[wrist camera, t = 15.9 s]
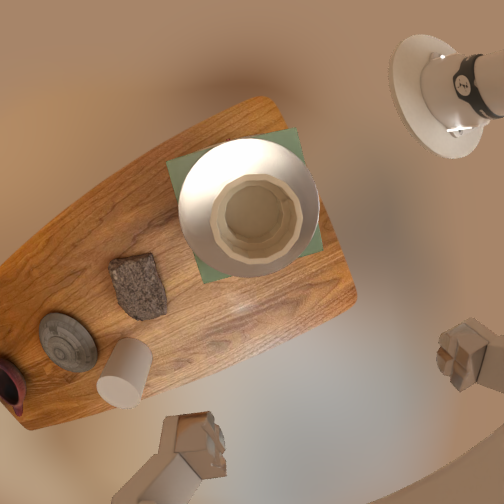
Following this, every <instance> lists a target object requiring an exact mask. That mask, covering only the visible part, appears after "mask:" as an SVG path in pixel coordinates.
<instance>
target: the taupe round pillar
mask: <svg viewBox="0 0 504 504" xmlns="http://www.w3.org/2000/svg"><path fill="white" fill-rule="evenodd" d="M151 363H152V353H151V351H150V349H149V348H148V347H147V346H146V345H145V344H144V343H143V342H141V341H139V340H137V339H134V338H124V339H121V340H120V341H118V342H117V344H116V346H115V348H114V350H113V352H112V354H111V356H110V357H109V359H108V361H107V363H106V365H105V367H104V369H103V371H102V374H101V376H100V378H99V380H98V382H97V390H98V393H99V394H100V396H101V397H102V398H103V399H104V400H105V401H106V402H108V403H109V404H111V405H113V406H115V407H118V408H121V409H132V408H135V407H136V406H138V404H139V403H140V400H141V396H142V393H143V389H144V386H145V383H146V379H147V376H148V373H149V369H150V366H151Z"/></svg>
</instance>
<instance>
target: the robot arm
mask: <svg viewBox="0 0 504 504" xmlns="http://www.w3.org/2000/svg"><path fill="white" fill-rule="evenodd" d="M420 82H421V90H422V95H423V98H424V100H425V103H426V105H427V107H428V109H429V110H430V112H431V113H432V115H433V116H434V117H435V118H436V119H437V120H438V121H439V122H440V123H442V124H443V125H444V126H445V127H446V128H447V129H448V130H447V131H449V133H450V134H451V135H452V136H453V137H454V138H457V137H460V136H463V135H465V134H467V133H469V132H472V131H474V130H476V129H478V128H481V127H483V126H485V125H487V124H489V122H490V120H491V119H499V118H503V117H504V50H500V51H497V52H493V53H490V54H486V55H483V54H478V55H471V56H469V57H466V56H465V55H462V54H460V53H453V54H449V55H446V56H445V55H442V54H440V53H437V52H432V53H431V54H430V57H429V62H428V64H427V65H426V66H425V67H424V68H423V70H422V73H421V81H420ZM458 130H459V131H458ZM438 343H439V344H440V346H441V347H440V348H439V350H438V352H437V357H436V361H437V365H438V367H439V369H440V371H441V372H442V373H443V374H444V375H446V376H450V382H451V383H452V384H453V385H454V387H456V389H457V390H458V391H459V392H461V391H463V390H465V389H466V388H468V387H470V386H471V385H473V384H474V383H476V382H477V384H480V385H483V386H485V387H488V388H491V389H493V390H496V391H499V392H501V393H504V335H500V336H497V335H496V334H495V333H493V332H492V331H491V330H489V329H488V328H487V327H485V326H484V325H483V324H481V323H480V322H479V321H477V320H476V319H475V318H469V319H467V320H465V321H464V322H462V323H461V324H458V325H456V326H455V327H453V328H451V329H449V330H447V331H446V332H444V333H442V334H441V335H440V337H439V342H438ZM224 451H225V441H224V436H223V434H222V431H221V429H220V427H219V426H218V425H216V424H214V416H213V415H212V413H211V412H210V411H207V412H200V413H191V414H183V415H176V416H167V417H166V418H165V419H164V422H163V427H162V433H161V439H160V445H159V451H158V454H154V455H153V456H152V457H151V458H150V459H149V460H148V461H147V462H146V463H145V464H144V465H143V466H142V468H141V469H140V470H139V471H138V472H137V473H136V474H135V475H134V476H133V477H132V478H131V479H130V480H129V481H128V482H127V483H126V484H125V485H124V486H123V487H122V488H121V489H120V490H119V491H118V492H117V493H116V494H115V495H114V496H113V497H112V501H111V504H188V502H189V501H190V499H191V498H192V496H193V495H194V493H195V491H196V490H197V488H198V487H199V485H200V483H201V482H202V480H203V479H211V478H218V477H225V476H227V475H226V460H225V459H224V457H223V456H222V454H223V453H224ZM368 504H504V424H503V425H502V426H500V427H499V428H498V429H497V430H495V431H494V432H493V433H492V434H490V435H489V436H488V437H486V438H485V439H484V440H483V441H481V442H480V443H478V444H477V445H476V446H474V447H473V448H471V449H470V450H468V451H467V452H466V453H464V454H463V455H461V456H460V457H458V458H457V459H455V460H454V461H452V462H450V463H449V464H447V465H446V466H444V467H442V468H440V469H439V470H437V471H435V472H433V473H432V474H430V475H428V476H426V477H424V478H423V479H421V480H419V481H417V482H415V483H413V484H411V485H409V486H407V487H405V488H403V489H401V490H399V491H396V492H394V493H392V494H390V495H387V496H385V497H383V498H381V499H378V500H376V501H373V502H371V503H368Z"/></svg>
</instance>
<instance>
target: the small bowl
mask: <svg viewBox="0 0 504 504" xmlns="http://www.w3.org/2000/svg"><path fill="white" fill-rule="evenodd" d="M302 222H303V215H302V210H301V206H300V201H299V199H298V197H297V195H296V194H295V193H294V192H293V191H292V189H291V188H290V187H289V186H288V184H287V183H286V182H284V181H282V180H280V179H278V178H275V177H273V176H271V175H269V174H266V173H259V172H255V173H241V174H239V175H237V176H235V177H233V178H231V179H229V180H227V181H226V182H225V183H224V184H223V186H222V187H221V188H220V190H219V191H218V193H217V194H216V195H215V198H214V201H213V206H212V212H211V218H210V225H211V229H212V232H213V235H214V239H215V242H216V243H217V244H218V245H219V247H220V248H221V249H222V250H223V251H224V252H225V253H226V254H227V255H228V256H229V257H230V258H233V259H235V260H238V261H240V262H243V263H245V264H249V265H250V264H266V263H270V262H272V261H274V260H276V259H278V258H280V257H282V256H283V255H285V254H287V253H288V251H289V250H290V249H291V247H292V246H293V245H294V244H295V242H296V241H297V240H298V238H299V235H300V230H301V226H302Z"/></svg>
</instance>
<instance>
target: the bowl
mask: <svg viewBox="0 0 504 504" xmlns="http://www.w3.org/2000/svg"><path fill="white" fill-rule="evenodd" d="M25 396H26V382H25V379H24V377H23V375H22V374H21V372H20V371H19V369H18V368H17V367H16V366H15V365H14V364H12V363H11V362H9V361H8V360H6V359H2V358H0V397H1V398H2V399H3V400H4V401H5V402H6V403H8V404H10V405H12V407H13V409H14V411H15V414H16V415H17V416H22V413H23V401H24V398H25Z"/></svg>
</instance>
